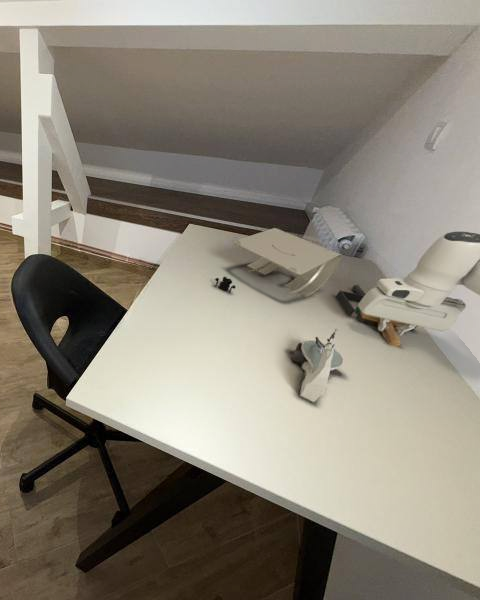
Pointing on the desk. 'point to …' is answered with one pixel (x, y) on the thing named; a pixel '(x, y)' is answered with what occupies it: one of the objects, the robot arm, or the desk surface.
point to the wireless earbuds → (225, 284)
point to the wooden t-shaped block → (388, 335)
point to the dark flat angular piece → (351, 299)
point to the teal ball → (358, 310)
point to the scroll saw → (316, 366)
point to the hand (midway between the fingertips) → (388, 332)
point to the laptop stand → (292, 258)
